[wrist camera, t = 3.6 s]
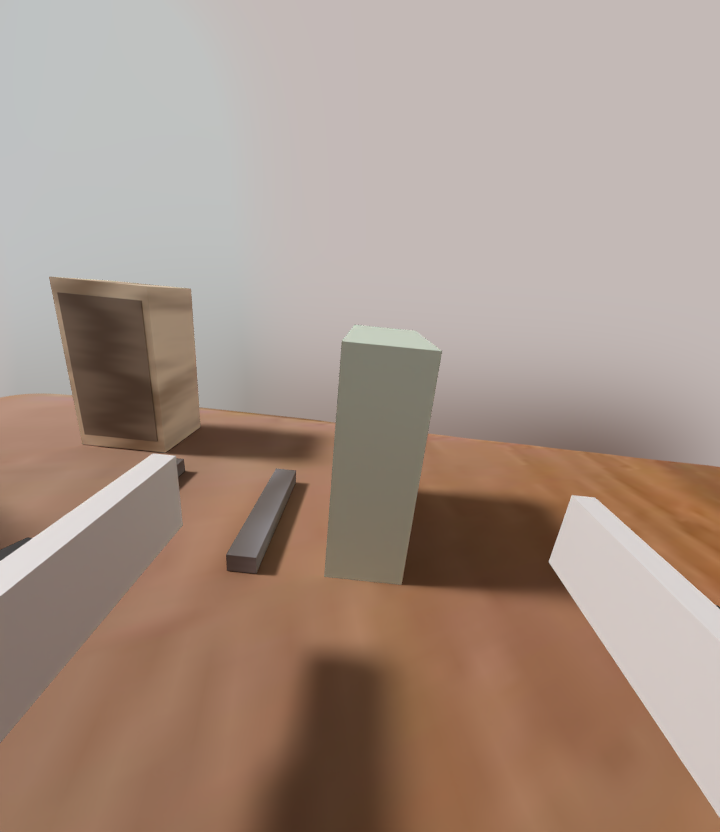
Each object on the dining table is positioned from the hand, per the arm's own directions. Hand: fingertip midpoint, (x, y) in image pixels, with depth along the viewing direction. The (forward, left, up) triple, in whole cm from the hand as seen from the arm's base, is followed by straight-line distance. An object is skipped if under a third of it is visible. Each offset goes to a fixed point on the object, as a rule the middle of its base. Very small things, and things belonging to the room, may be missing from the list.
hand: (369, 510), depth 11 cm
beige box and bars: (+17, -8, -7) cm, 20 cm away
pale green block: (+2, -8, -7) cm, 11 cm away
